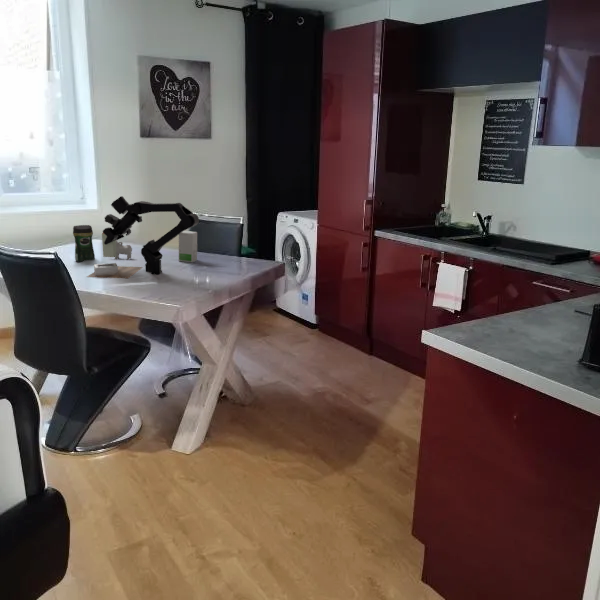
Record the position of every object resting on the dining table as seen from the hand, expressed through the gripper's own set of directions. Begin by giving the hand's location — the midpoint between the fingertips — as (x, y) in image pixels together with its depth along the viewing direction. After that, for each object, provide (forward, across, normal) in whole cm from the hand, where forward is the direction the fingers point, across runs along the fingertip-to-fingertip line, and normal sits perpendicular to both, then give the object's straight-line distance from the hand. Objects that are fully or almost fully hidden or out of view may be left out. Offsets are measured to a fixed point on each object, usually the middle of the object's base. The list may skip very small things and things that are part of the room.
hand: (106, 243), depth 277 cm
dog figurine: (+14, -26, +5) cm, 30 cm away
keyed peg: (+4, 0, +6) cm, 7 cm away
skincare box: (-11, -32, +30) cm, 45 cm away
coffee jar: (+24, -16, -5) cm, 30 cm away
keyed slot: (+5, +12, +12) cm, 17 cm away
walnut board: (+4, +7, +14) cm, 17 cm away
